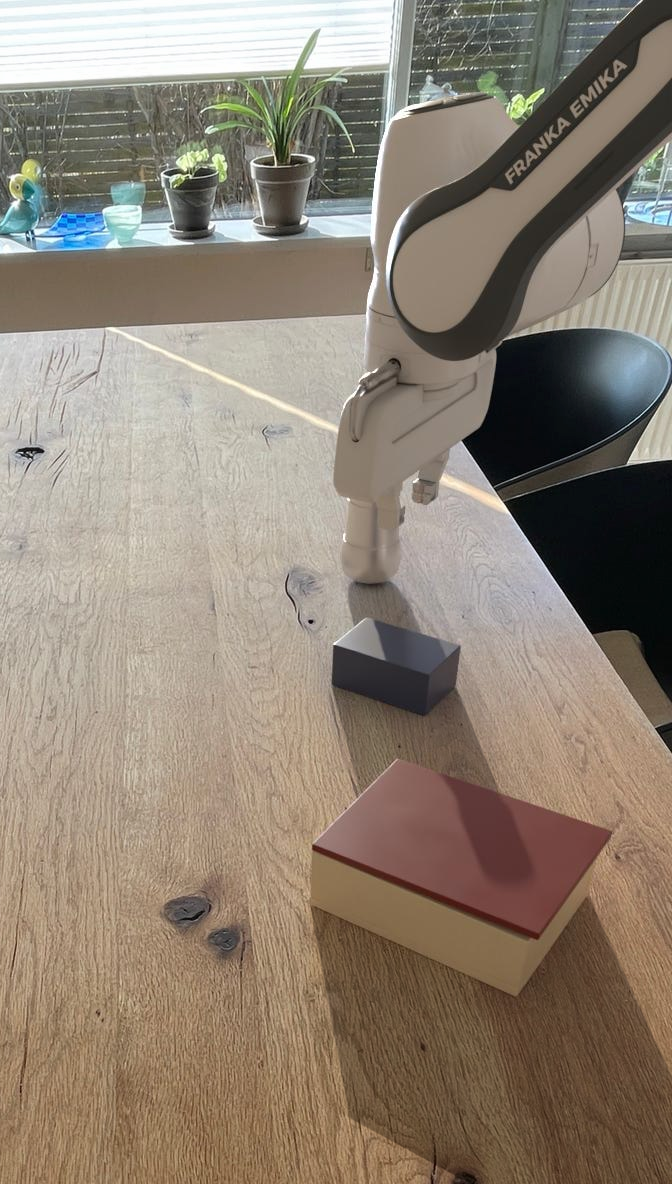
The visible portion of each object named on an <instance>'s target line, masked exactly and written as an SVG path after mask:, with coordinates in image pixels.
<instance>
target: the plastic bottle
mask: <svg viewBox="0 0 672 1184" xmlns="http://www.w3.org/2000/svg"><path fill="white" fill-rule="evenodd" d="M401 492H402V491H401ZM401 492H400V493H399V499H400V496H401V494H402V493H401ZM400 500H401V499H400ZM345 516H346V517H345V525H344V533H343V536H342V539H341V543H340V544H341V545H340V549H339V560H340V566H341V570H342V572H343V573H344V574H345V576H346V577H347V578H348V579H350V580H352V581H354V582H356V583H357V582H358V583H361V584H369V585H370V584H382V583H385V582H388V581H390V580H392V579H393V578H394V576H395V575H396V574H397V573H398V572H399V569H400V566H401V561H402V557H403V554H402V543H401V538H400V526H399V527H398V528H397V529H395V530H394V531H389V530H385V529H382V528H380V527H379V526H378V524H377V518H378V507H377V505H376V502H373V503H367V502H362V501H357V500H353V499H349V498H347V507H346V515H345Z"/></svg>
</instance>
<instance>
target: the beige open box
mask: <svg viewBox="0 0 672 1184" xmlns="http://www.w3.org/2000/svg"><path fill="white" fill-rule="evenodd" d="M597 860H598V857H597V858H596V859H595V861H594V862H593V864H592V865H591V866H590V868H589V869H588V871H587V872H586V873H585V875H584V876H583V878H582V879H581V881H580V882H579V883H578V885H577V886H576V888H575V889H574V890H573V892H572V893H571V895H570V896H569V897H568V899H567V900H566V902H565V903H564V904H563V906H562V907H561V909H560V910H559V912H558V913H557V914H556V916H555V917H554V919H553V920H552V921H551V923H550V924H549V926H548V927H547V928H546V930H545V931H544V933H543V934H542V935H541V937H540V938H539V940H536V939H533V938H531V937H528V936H526V935H523V934H521V933H518V932H516V931H513V930H511V929H508V928H506V927H503V926H501V925H498V924H496V923H493V922H491V921H488V920H486V919H483V918H481V917H478V916H476V915H473V914H471V913H468V912H466V911H463V910H461V909H458V908H456V907H453V906H451V905H448V904H446V903H443V902H441V901H438V900H436V899H433V898H431V897H428V896H426V895H423V894H421V893H418V892H416V891H413V890H411V889H408V888H405V887H403V886H400V885H398V884H395V883H393V882H390V881H388V880H385V879H383V878H380V877H378V876H375V875H373V874H370V873H368V872H365V871H363V870H360V869H358V868H355V867H353V866H350V865H348V864H345V863H343V862H340V861H338V860H335V859H333V858H330V857H328V856H325V855H323V854H320V853H318V852H315V851H313V850H311V869H310V870H311V871H310V872H311V874H310V876H311V877H310V897H309V901H310V902H309V905H310V906H312V907H315V908H317V909H320V910H322V911H323V912H326V913H328V914H330V915H332V916H335V917H337V918H340V919H342V920H344V921H346V922H349V923H351V924H353V925H355V926H357V927H360V928H362V929H364V930H366V931H368V932H371V933H373V934H375V935H377V936H380V937H382V938H384V939H386V940H388V941H390V942H393V943H395V944H397V945H399V946H402V947H404V948H406V949H408V950H410V951H413V952H415V953H417V954H419V955H422V956H424V957H426V958H429V959H431V960H433V961H435V962H436V963H439V964H442V965H444V966H446V967H448V968H451V969H452V970H455V971H457V972H460V973H462V974H464V975H466V976H468V977H471V978H473V979H475V980H477V981H480V982H481V983H484V984H487V985H488V986H490V987H493V988H495V989H498V990H500V991H502V992H504V993H506V994H508V995H511V996H513V997H515V998H517V997H518V996H519V994H520V993H521V991H522V990H523V988H524V987H525V986H526V985H527V983H528V982H529V980H530V979H531V977H532V976H533V974H534V973H535V971H536V970H537V969H538V967H539V965H540V964H541V963H542V961H543V960H544V958H545V957H546V956H547V954H548V953H549V951H550V950H551V949H552V947H553V945H555V942H556V941H557V940H558V938H559V937H560V936H561V934H562V933H563V931H564V929H566V927H567V925H568V924H569V922H570V921H571V920H572V918H573V916H574V915H575V914H576V912H577V911H578V909H579V908H580V907H581V905H582V904H583V902H584V901H585V899H586V898H587V896H588V895H589V892H590V888H591V884H592V880H593V876H594V872H595V868H596V865H597V864H596V863H597Z"/></svg>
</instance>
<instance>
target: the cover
mask: <svg viewBox="0 0 672 1184" xmlns="http://www.w3.org/2000/svg"><path fill="white" fill-rule="evenodd" d="M612 835H613V831H612V830H611V829H607V828H605V827H601V826H598V825H597V824H593V823H589V822H587V821H583V820H580V819H578V818H575V817H573V816H569V815H567V814H563V813H560V812H557V811H555V810H551V809H549V808H545V807H542V806H540V805H536V804H533V803H530V802H527V801H525V800H522V799H519V798H517V797H516V798H515V797H513V796H510V795H506V794H503V793H501V792H499V791H494V790H492V789H489V788H487V787H483V786H480V785H477V784H474V783H471V782H468V781H465V780H462V779H460V778H456V777H453V776H450V775H448V774H445V773H441V772H439V771H435V770H433V769H430V768H427V767H424V766H420V765H417V764H414V763H412V762H409V761H406V760H403V759H400V758H397V759H395V761H394V762H392V763H391V765H390V766H389V767H387V769H385V770H384V772H383V773H381V774H380V776H378V777H377V779H375V780H374V781H373V783H371V784H370V785H369V786H368V787H367V789H365V790H364V791H363V793H361V794H360V795H359V796H358V798H357V799H356V800H354V802H353V803H352V804H350V805H349V807H348V808H346V809H345V811H344V812H342V813H341V814H340V816H339V817H337V818H336V819H335V820H334V821H333V822H332V824H330V825H329V827H328V828H326V830H325V831H323V833H322V834H320V835H319V836H318V837H317V838H316V839H315V841H313V843H311V851H315V852H318V853H320V854H323V855H325V856H328V857H330V858H333V859H335V860H338V861H340V862H343V863H345V864H348V865H350V866H353V867H355V868H358V869H360V870H363V871H365V872H368V873H370V874H373V875H375V876H378V877H380V878H383V879H385V880H388V881H390V882H393V883H395V884H398V885H400V886H403V887H405V888H408V889H411V890H413V891H416V892H418V893H421V894H423V895H426V896H428V897H431V898H433V899H436V900H438V901H441V902H443V903H446V904H448V905H451V906H453V907H456V908H458V909H461V910H463V911H466V912H468V913H471V914H473V915H476V916H478V917H481V918H483V919H486V920H488V921H491V922H493V923H496V924H498V925H501V926H503V927H506V928H508V929H511V930H513V931H516V932H518V933H521V934H523V935H526V936H528V937H531V938H533V939H536V940H539V938H540V937H541V935H542V934H543V933H544V931H545V930H546V928H547V927H548V926H549V924H550V923H551V921H552V920H553V919H554V917H555V916H556V914H557V913H558V912H559V910H560V909H561V907H562V906H563V904H564V903H565V902H566V900H567V899H568V897H569V896H570V895H571V893H572V892H573V890H574V889H575V888H576V886H577V885H578V883H579V882H580V881H581V879H582V878H583V876H584V875H585V873H586V872H587V871H588V869H589V868H590V866H591V865H592V864H593V862H594V861H595V859H596V858H597V859H598V856H599V855H600V854H601V852H602V851H603V850H604V848H605V847H606V845H607V844H608V843H609V841H610V840H611V838H612Z"/></svg>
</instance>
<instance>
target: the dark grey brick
mask: <svg viewBox="0 0 672 1184" xmlns="http://www.w3.org/2000/svg"><path fill="white" fill-rule="evenodd" d="M461 647H462V645H461V644H459V643H453V642H450V641H447V640H444V639H440V638H439V637H438V638H437V637H434V636H431V635H427V634H424V633H421V632H417V631H414V630H410V629H407V628H404V627H401V626H397V625H393V624H390V623H387V622H383V621H380V620H377V619H374V618H370V617H367V616H366V617H365V618H364V619H363V620H361V621H360V622H359V623H358V624H356V625H355V626H353V628H352V629H350V630H349V631H347V633H346V634H345V635H343V636H342V637H341V638H339V639H338V640H337V641H336V642H334V643H333V644H332V661H331V662H332V663H331V664H332V665H331V685H332V686H335V687H337V688H341V689H343V690H346V691H349V692H352V693H355V694H357V695H361V696H364V697H367V698H369V699H370V698H371V699H373V700H375V701H379V702H382V703H385V704H389V705H390V706H393V707H396V708H400V709H403V710H406V711H409V712H411V713H414V714H417V715H421V716H423V717H426V716H427V715H428V714H429V713H430V712H431V711H432V710H433V709H434V708H435V707H436V706H437V705H438V704H439V703H440V702H441V701H442V700H443V699H444V698H445V697H446V696H447V695H448V694H449V693H450V692H451V691H452V690H453V689H454V688H455V687H456V685H457V679H458V671H459V664H460V663H459V662H460V656H461Z"/></svg>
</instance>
